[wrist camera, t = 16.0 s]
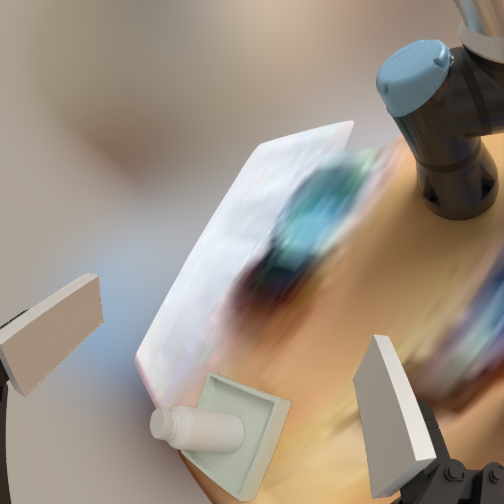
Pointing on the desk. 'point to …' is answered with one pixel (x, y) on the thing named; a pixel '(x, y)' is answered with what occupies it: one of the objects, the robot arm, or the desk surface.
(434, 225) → the desk surface
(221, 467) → the tray
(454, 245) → the desk surface
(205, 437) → the pill bottle
